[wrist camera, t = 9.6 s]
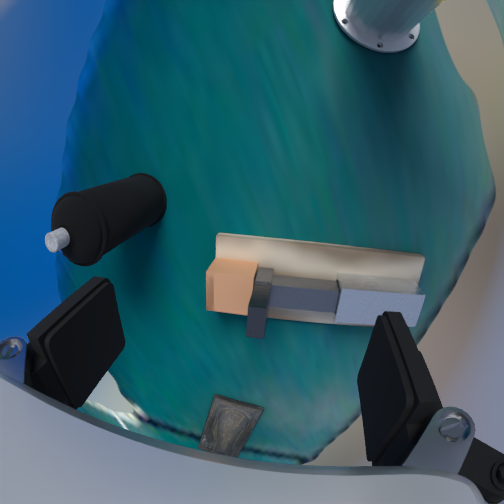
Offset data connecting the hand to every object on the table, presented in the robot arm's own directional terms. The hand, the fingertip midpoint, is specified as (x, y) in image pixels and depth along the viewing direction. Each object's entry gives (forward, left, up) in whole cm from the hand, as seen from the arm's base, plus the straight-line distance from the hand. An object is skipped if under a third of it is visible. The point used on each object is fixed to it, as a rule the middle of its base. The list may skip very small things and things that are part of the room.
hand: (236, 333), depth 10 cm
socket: (+13, -5, -30) cm, 33 cm away
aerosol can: (+3, -20, -32) cm, 38 cm away
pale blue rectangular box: (+13, +15, -30) cm, 36 cm away
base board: (+13, +7, -32) cm, 35 cm away
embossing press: (+51, -6, -32) cm, 60 cm away
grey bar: (+13, +3, -30) cm, 33 cm away
